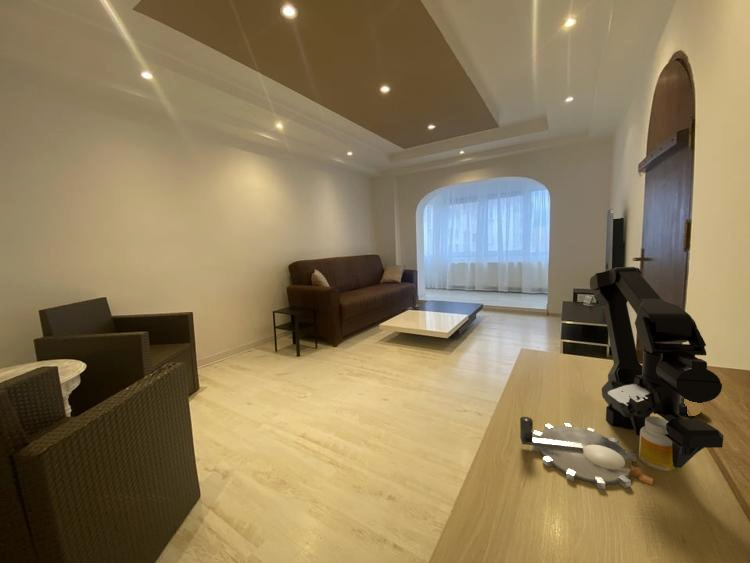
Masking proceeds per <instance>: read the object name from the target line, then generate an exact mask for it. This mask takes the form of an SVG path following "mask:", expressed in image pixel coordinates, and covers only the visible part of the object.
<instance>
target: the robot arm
mask: <svg viewBox="0 0 750 563" xmlns="http://www.w3.org/2000/svg"><path fill="white" fill-rule="evenodd" d="M589 288H590V290H591V291H592V293H593V297H594V299H595V301H597V302H598V303H599V305H600V306H602V308H603V311H604V317H605V321H606V328H607V333H608V338H609V343H610V344H609V345H610V350H611V353H612V354H611V355H612V360H613V365H612V367H611V369H610V370H609V372H608V374H607V379H608V380H607V381H606V383H605V384H604V385H603V386H602V387H601V396H602V398H603V399H604V401H605V402H606V403H607V406H606V408H605V421H606V422H608V424H610V425H611V426H612V427H616V428H622V429H626V430H630V431H634V434H635V435H636V436H637V437H640V430H641V428H642V427H644V426H645V419H646V417H649V416H651V415H652V414H654V415H659V417H660V418H663V419H665V420H667V421H668V423H667V424H666V430H667V432H668V434H665V436H666V437H667V438H668V439H670V440H671V441H672V458H673V466H674V467H675V469H676V468H677V469H678V468H679V469H681V468H683V467H684V466H685V465H686V464H687V463H688V462H689V461H690V460H691V459H692V458H694V456H696V454H697V453H699V452H700V451H702V450H704V449H709V448H713V449H714V448H716V449H717V448H723V443H724V434H723V433H722V432H721V431H720V430H718V429H717V428H715V427H714V426H712V425H710V424H709V423H707V422H706V421H703V420H702V419H700V418H685V417H684V416H682V415H679V412H687V406H685V405H683V404H682V403H681V396H682V397H684V398H685V399H687V400H689V401H692V402H697V403H707V402H708V403H709V402H711V401H713V400H714V399H716V398H717V397H718V396H719V395H720V394H721V392H722V390H723V389H722V388H723V383H722V382H721V380H720V378H719V376H718V375H717V374H715V373H714V372H713V371H712V370H709V369H708V362H707V361H706V360H703V359H702V358H698V357H697V356H707V350H706V348H705V347H706V346H707V343H706V342H705V340H704V338H703V335H702V334H701V332H700V331H699V328H698V326H697V324H696V321H695V320H694V319H693V317H692V316H691V315H690V314H689V313H688V312H687V311H685V309H683V308H681V307H680V306H679V305H676V304H673V303H671V302H668V301H665V300H664V299H662V297H661V296H660V295H659V294H658V292H656V290H655V289H654V288H653V287H652V285H650V283H649V282H648V281H647V280H646V278H645V277H644V276H643V275H642V272H641V269H640V268H639V267H635V266H621V267H619V266H617V267H614V268H610V270H606V271H601V272H596V273H595V274H594V275H593V276H591V277H590V279H589ZM628 303H629V305H630V306H631V308H632V309H633V311H634V312H635V314H636V317H635V321H634V325H635V329H636V332H637V334H638V336H639V339H640V341H639V344H640V345H641V346H643V348H642V349H643V350H642V361H641V362H642V363H640V361H639V356H638V351H637V346H636V342H635V337H634V332H633V327H632V324H631V323H632V322H631V318H630V313H629V308H628ZM687 342H688V343H687Z"/></svg>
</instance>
